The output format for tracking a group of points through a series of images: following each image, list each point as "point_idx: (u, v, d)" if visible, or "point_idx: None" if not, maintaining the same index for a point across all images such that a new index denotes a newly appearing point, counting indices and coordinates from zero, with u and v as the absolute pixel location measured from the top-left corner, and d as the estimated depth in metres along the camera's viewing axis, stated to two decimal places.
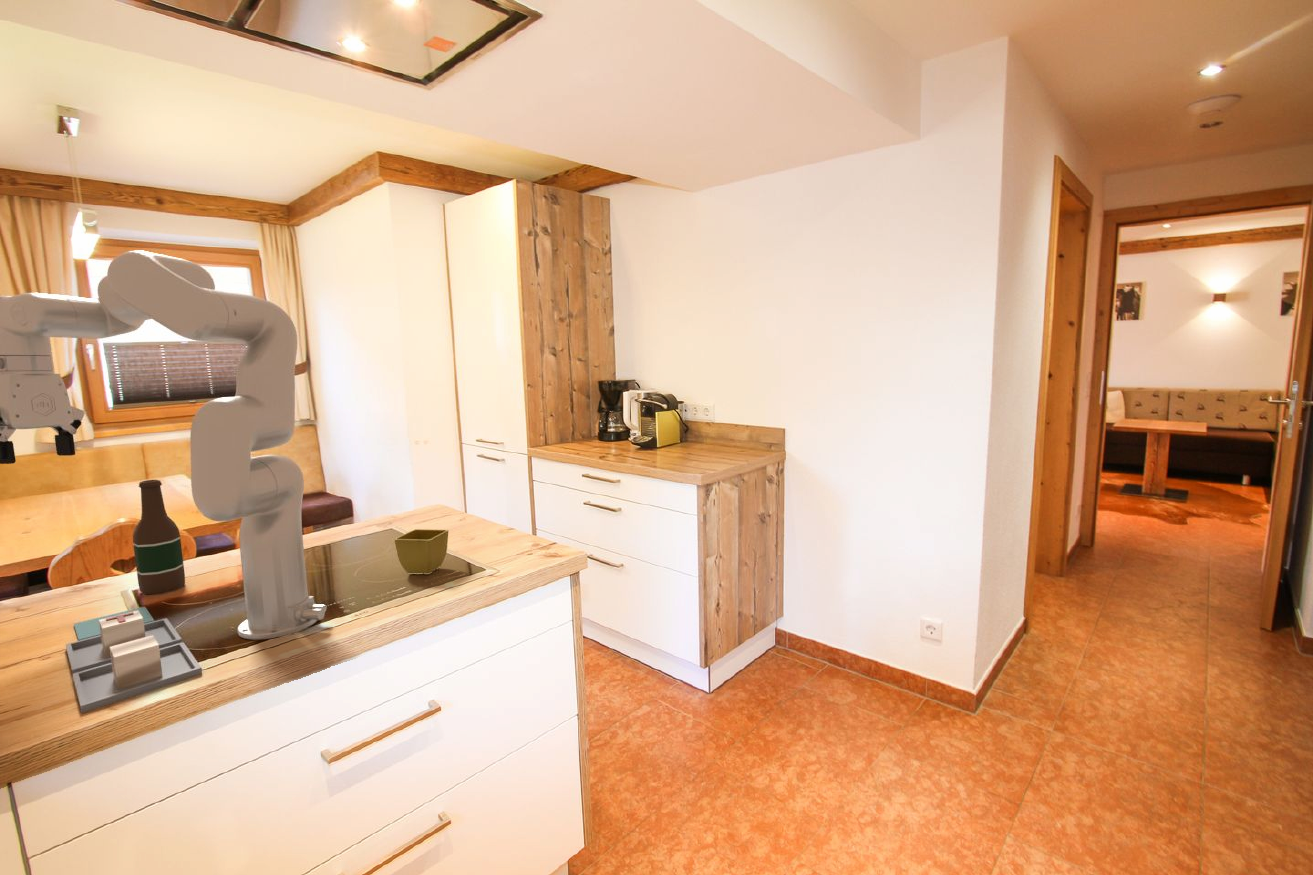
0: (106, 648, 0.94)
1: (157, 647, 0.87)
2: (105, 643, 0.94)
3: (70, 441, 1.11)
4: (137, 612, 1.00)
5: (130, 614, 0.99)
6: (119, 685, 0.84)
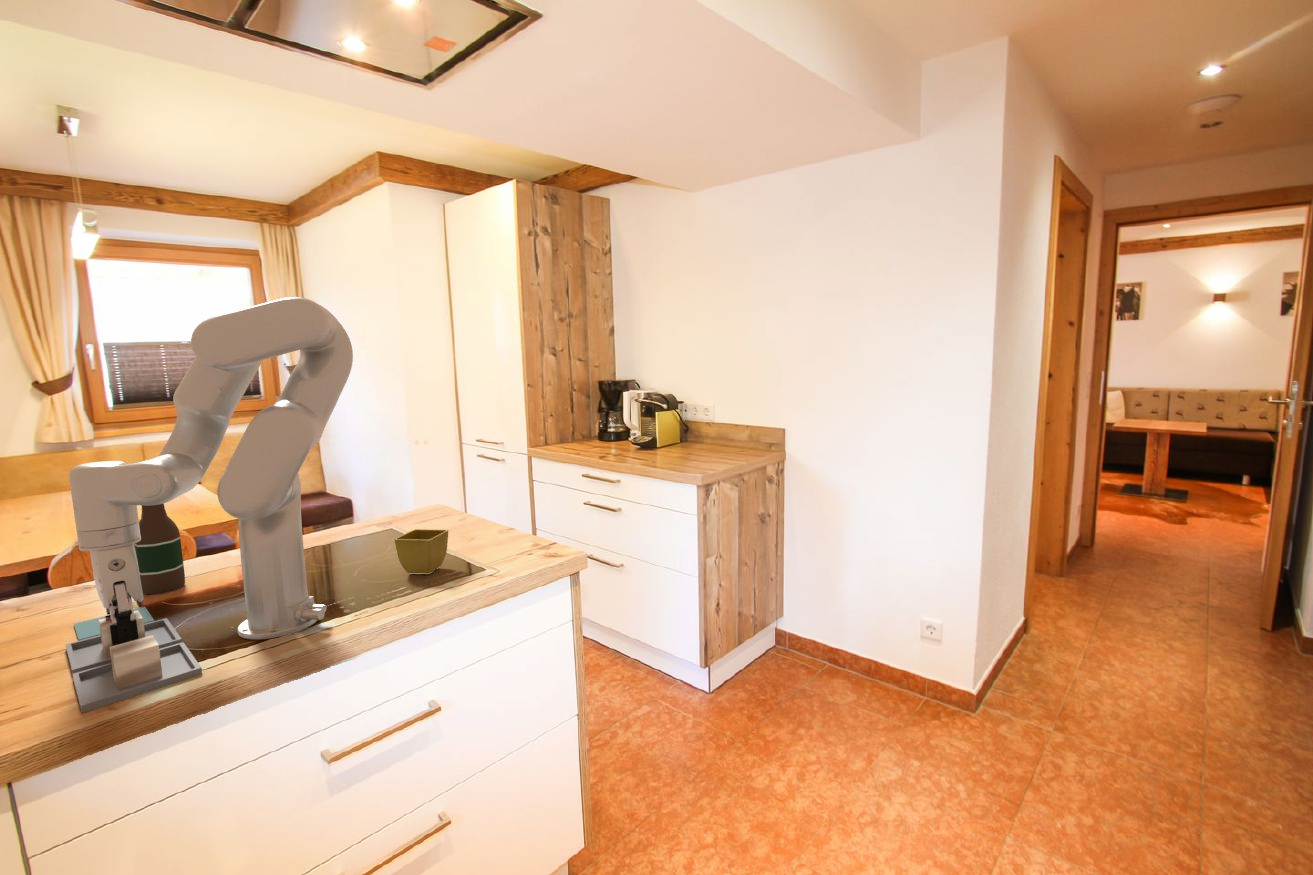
0: (106, 648, 0.94)
1: (157, 647, 0.87)
2: (105, 643, 0.94)
3: None
4: (137, 612, 1.00)
5: None
6: (119, 685, 0.84)
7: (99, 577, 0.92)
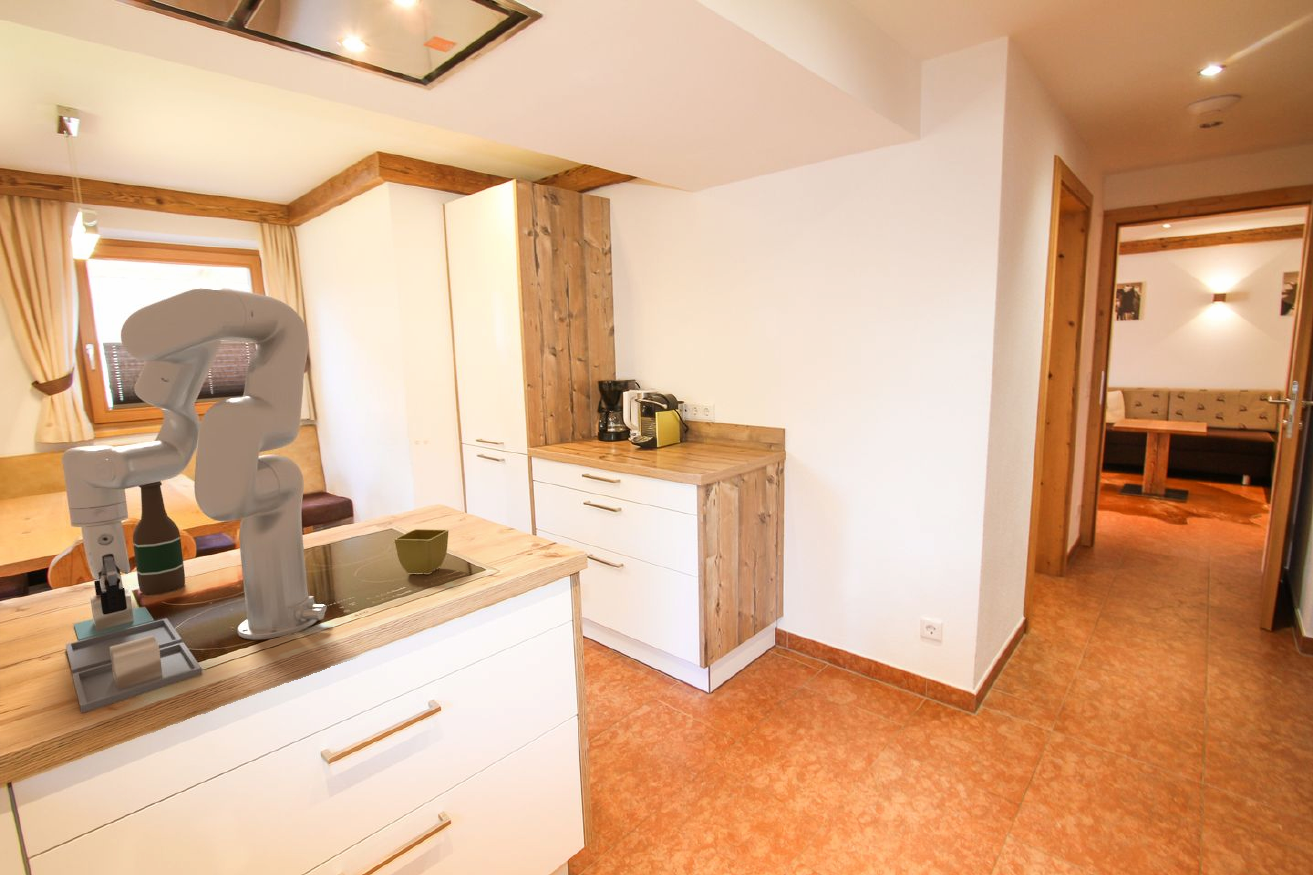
0: (96, 622, 1.03)
1: (157, 647, 0.87)
2: (95, 617, 1.03)
3: None
4: (125, 590, 1.09)
5: None
6: (119, 685, 0.84)
7: (89, 550, 1.01)
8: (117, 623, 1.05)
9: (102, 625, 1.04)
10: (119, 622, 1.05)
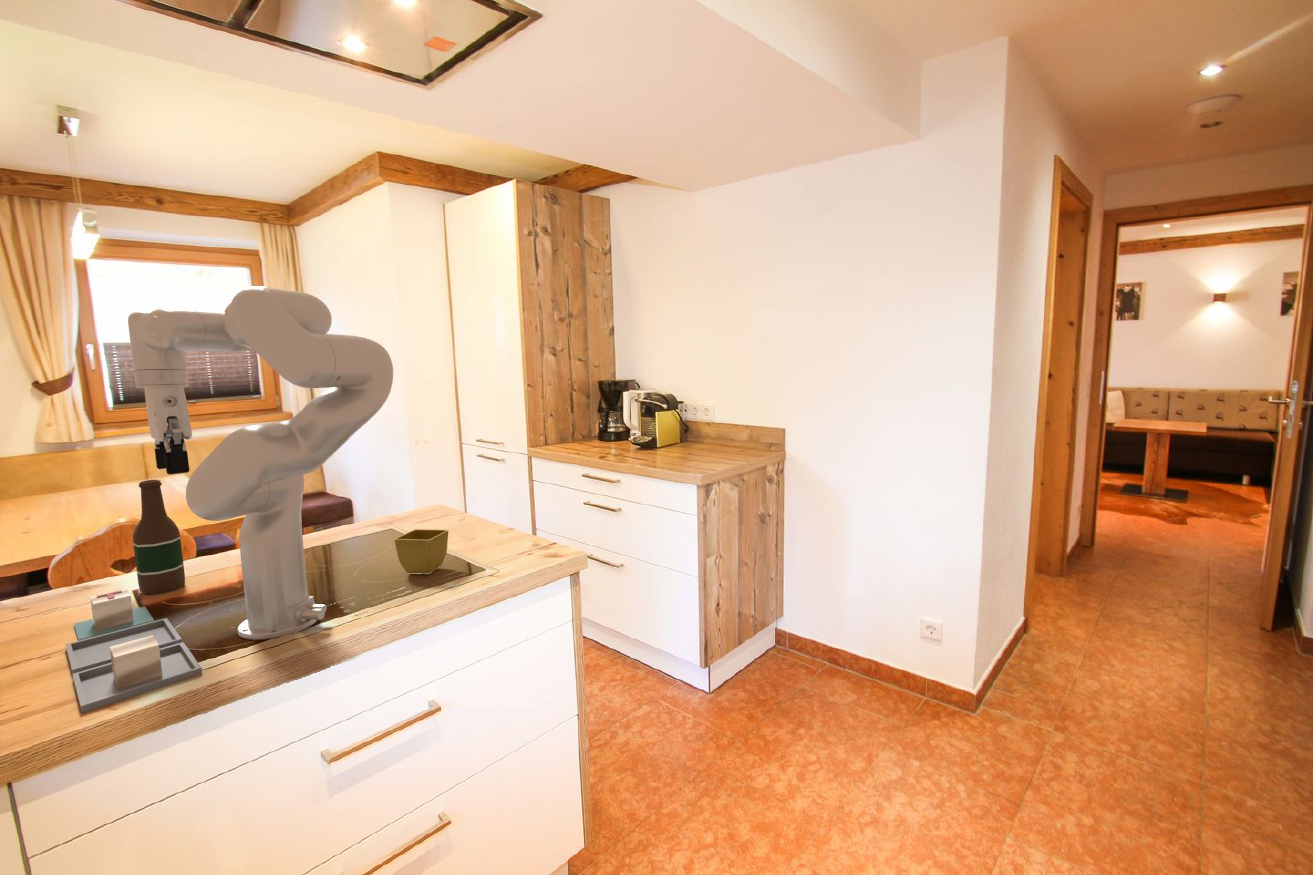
0: (96, 622, 1.03)
1: (157, 647, 0.87)
2: (95, 617, 1.03)
3: None
4: (125, 590, 1.09)
5: (119, 592, 1.08)
6: (119, 685, 0.84)
7: (154, 411, 1.03)
8: (117, 623, 1.05)
9: (102, 625, 1.04)
10: (119, 622, 1.05)
